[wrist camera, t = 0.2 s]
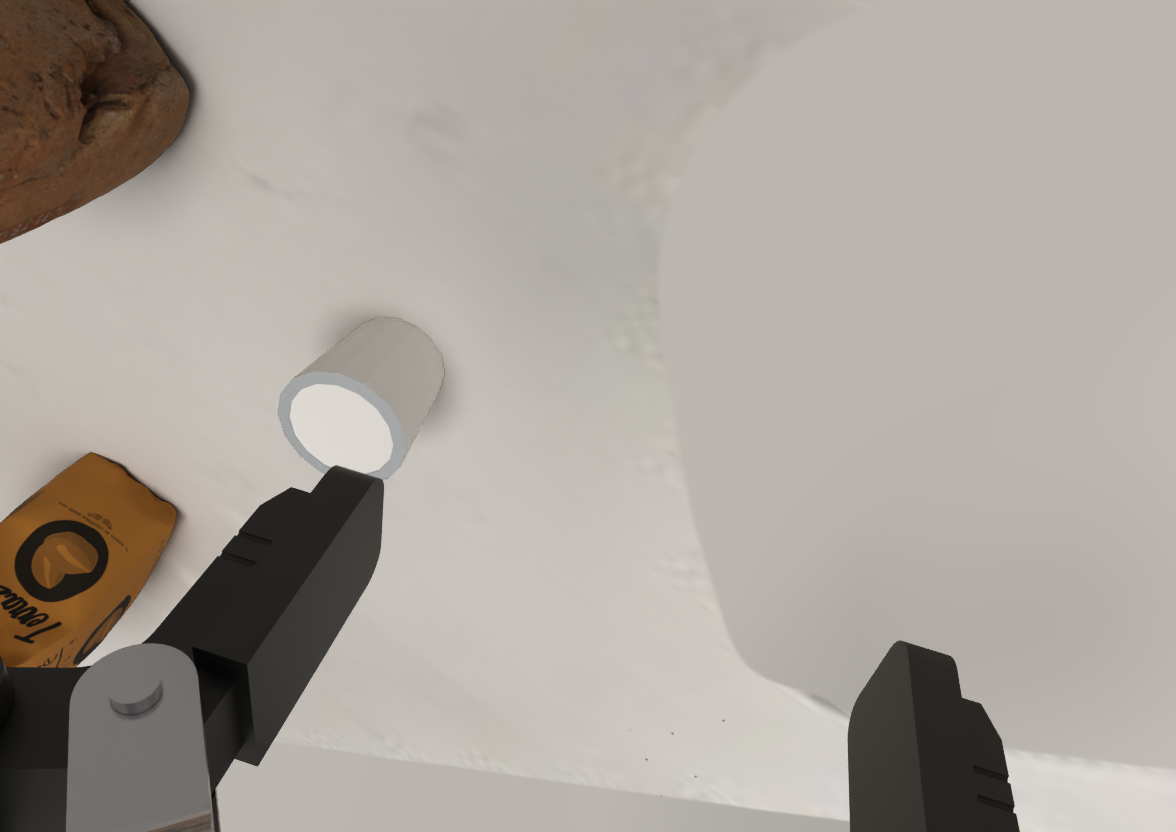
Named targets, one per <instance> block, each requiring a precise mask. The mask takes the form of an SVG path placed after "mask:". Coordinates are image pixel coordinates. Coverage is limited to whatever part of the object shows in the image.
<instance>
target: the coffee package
mask: <svg viewBox="0 0 1176 832" xmlns="http://www.w3.org/2000/svg"><path fill="white" fill-rule="evenodd" d="M175 518H176V511H175V509H174V507H173V506H172V505H171V504H169V503H168V502H164V501H161V500H160V499H158V498H157V497H155V496H154V495H153V494H152V493H151V491H150V490H149V489H148V488H147V487H146V486H144V485H142V484H140V483H138V482H137V481H135V480H133V479H132V478H130V477H129V476H128V475H127V473H126V471H124V470H123V469H122V468H121V467H120V466H119V465H117V464H116V463H111V462H110V461H108V460H106V459H105V458H103V457H101V456H99V455H97V454H94V453H89V454H87V455H85V456H84V457H82V458H81V459H79V460H78V461H77V462H76V463H74V464H73V465H71V466H70V467H68V468H67V469H65V470H64V471H63V472H61V473H60V474H59V475H58V476H56V477H55V478H54V479H53V480H51V481H50V482H49V483H48V484H47V485H45V486H44V487H42V488H41V489H40V490H38V491H37V492H36V493H34V494H33V495H32V496H31V497H29V498H28V499H27V500H26V501H24V502H23V503H22V504H21V505H20V506H19V507H17V508H16V509H15V510H14V511H13V512H11V513H10V515H8V516H7V517H6V518H5V519H4V520H3V521H2V522H1V523H0V656H1V658H2V659H3V662H4V664H5V667H51V668H74V667H77V666H78V665H79V664H80V663H81V662H82V661H83V660H84V659H85V658H86V657H87V656H88V655H89V654H90V653H91V652H92V651H93V650H94V649H95V648H96V647H97V646H98V645H99V644H100V643H101V642H102V641H103V640H104V638H105V637H106V636H107V634H108V633H109V632H110V630H111V629H112V628H113V627H114V626H115V624H116V623H117V622H118V621H119V620H120V618H121V617H122V616H123V615H124V613H125V612H126V611H127V610H128V608H129V607H130V606H131V604H132V603H133V602H134V600H135V599H136V598H137V596H138V595H139V593H140V592H141V590H142V588H143V587H144V585H145V583H146V582H147V580H148V578H149V576H150V574H151V572H152V570H153V569H154V567H155V565H156V563H157V561H158V559H159V557H160V555H161V553H162V551H163V550H164V548H165V546H166V544H167V542H168V539H169V537H170V535H171V533H172V531H173V528H174V524H175Z"/></svg>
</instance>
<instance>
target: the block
mask: <svg viewBox="0 0 1176 832" xmlns="http://www.w3.org/2000/svg"><path fill="white" fill-rule="evenodd" d="M188 106H189V91H188V87H187V86H186V84H185V82H184V80H183V78H182V77H181V75H180V74H179V72H178V71H177V70H176V69H175V68H174V67H173V66H172V65H171V64H170V62H169V59H168V57H167V56H166V54H165V53H164V51H163V50H162V48H161V47H160V45H159V44H158V42H157V41H156V39H155V37H154V35H153V34H152V32H151V31H150V29H149V28H148V27H147V26H146V25H145V24H144V23H143V21H142V20H141V19H140V18H139V17H138V16H137V15H136V14H135V13H134V12H133V11H132V10H131V9H130V8H129V7H128V6H127V5H126V4H125V3H124V2H123V1H122V0H0V244H1V243H3V242H6V241H8V240H11V239H13V238H15V237H18V236H20V235H22V234H24V233H27V232H29V231H31V230H33V229H36V228H38V227H40V226H42V225H44V224H46V223H48V222H49V221H51V220H53V219H55V218H58V217H60V216H63V215H65V214H67V213H69V212H71V211H73V210H75V209H78V208H80V207H82V206H84V205H85V204H87V203H89V202H91V201H92V200H94V199H96V198H98V197H100V196H102V195H104V194H106V193H108V192H110V191H111V190H113V189H115V188H116V187H118V186H120V185H121V184H123V183H125V182H126V181H128V180H130V179H131V178H133V177H135V176H136V175H137V174H139V173H140V172H141V171H143V170H144V169H146V168H147V167H148V166H150V165H151V164H152V163H153V162H154V161H155V160H156V159H157V158H158V157H159V156H160V155H161V154H162V153H163V152H164V151H165V150H166V149H167V148H168V147H169V146H170V145H171V144H172V142H173V141H174V140H175V139H176V137H177V135H178V133H179V131H180V130H181V128H182V126H183V124H184V122H185V116H186V111H187V109H188Z"/></svg>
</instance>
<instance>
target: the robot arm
mask: <svg viewBox="0 0 1176 832" xmlns="http://www.w3.org/2000/svg"><path fill="white" fill-rule="evenodd" d="M383 497H384V483H383V480H382V479H380V478H377V477H374V476H370V475H367V474H364V473H361V472H357V471H354V470H351V469H348V468H344V467H341V466H338V465H335V466H333V467H331V468H330V469H329V470H328V471H327V473H326V474H325V475H324V476H323V478H322V479H321V480H320V482H319V483H318V484H317V485H316V487H315V488H314V489H313V491H312V492H311V493H308V492H305V491H302V490H299V489H296V488H292V487H291V488H289V489H287V490H286V491H284V492H282V493H280V494H279V495H277V496H275V497H274V498H272V499H270V500H268V501H267V502H265V503H263V504H262V505H260V506H259V507H258V509H257V510H256V511H255V512H254V513H253V515H252V516H251V517H250V518H249V519H248V521H247V522H246V523H245V524H244V525H243V526H242V528H241V529H240V530H239V534H238V535H237V536H236V535H235V536H234V537H233V538H232V540H231V541H230V542H229V543H228V544H227V546H226V547H225V548H224V549H223V550H222V554H221V556H220V557H219V556H217V558H216V559H215V560H214V561H213V562H212V564H211V565H210V566H209V567H208V568H207V570H206V571H205V572H204V573H203V574H202V576H201V577H200V578H199V579H198V580H197V581H196V583H195V584H194V585H193V586H192V587H191V589H190V590H189V591H188V592H187V593H186V595H185V596H184V597H183V598H182V599H181V601H180V602H179V603H178V604H177V605H176V607H175V608H174V609H173V610H172V611H171V613H170V614H169V615H168V616H167V617H166V619H165V620H164V621H163V622H162V623H161V625H160V626H159V627H158V628H157V629H156V631H155V632H154V633H153V634H152V635H151V636H150V637H149V638H148V639H147V640H145V641H144V642H143V643H142V644H138V645H133V646H129V647H125V648H122V649H119V650H117V651H114V652H112V653H110V654H108V655H107V656H105V657H103V658H102V659H100V660H99V661H97V662H96V663H94V664H93V665H92V666H86V667H74V668H51V667H5V664H4V662H3V659H2V658H1V656H0V832H221V828H220V819H219V809H218V799H217V790H216V787H217V785H218V784H219V782H220V781H221V779H222V777H223V776H224V774H225V773H226V771H227V770H228V768H229V766H230V765H231V763H232V762H233V760H234V759H237V760H240V761H243V762H246V763H249V764H252V765H255V766H258V765H259V764H260V762H261V760H262V758H263V757H264V755H265V753H266V752H267V750H268V749H269V747H270V745H271V743H272V742H273V740H274V739H275V737H276V736H277V734H278V732H279V731H280V729H281V727H282V726H283V724H284V722H285V721H286V719H287V717H288V716H289V714H290V712H291V711H292V709H293V707H294V706H295V704H296V702H297V701H298V699H299V697H300V696H301V694H302V693H303V691H304V689H305V688H306V686H307V684H308V683H309V681H310V679H311V678H312V676H313V674H314V673H315V671H316V669H317V668H318V666H319V664H320V663H321V661H322V659H323V658H324V656H325V655H326V653H327V651H328V650H329V648H330V646H331V645H332V643H333V641H334V640H335V638H336V636H337V635H338V633H339V631H340V630H341V628H342V626H343V625H344V623H345V621H346V620H347V618H348V616H349V615H350V613H351V612H352V610H353V608H354V607H355V605H356V603H357V602H358V600H359V598H360V597H361V595H362V593H363V592H364V590H365V588H366V587H367V585H368V583H369V581H370V579H371V577H372V575H373V573H374V570H375V567H376V565H377V561H378V558H379V554H380V549H381V535H382V516H383ZM848 769H849V805H850V832H1020V831H1019V826H1018V821H1017V816H1016V814H1015V813H1013V809H1014V807H1015V806H1014V801H1013V795H1012V790H1011V785H1010V783H1008V782H1007V779H1008V777H1009V775H1008V770H1007V765H1006V760H1005V755H1004V750H1003V745H1002V740H1001V738H1000V737H999V735H998V733H997V731H996V729H995V728H994V726H993V724H992V722H991V721H990V719H989V717H988V715H987V714H986V712H985V710H984V708H983V707H982V705H981V704H980V703H977V702H974V701H970V700H967V699H964V698H962V696H961V690H960V684H959V678H958V672H957V666H956V663H955V661H954V659H953V658H952V657H951V656H949V655H946V654H943V653H939V652H936V651H933V650H930V649H926V648H923V647H920V646H917V645H913V644H910V643H907V642H904V641H897V642H896V643H894V644H893V646H892V647H891V648H890V650H889V651H888V653H887V654H886V656H885V658H884V659H883V660H882V662H881V663H880V665H879V667H878V668H877V670H876V671H875V673H874V674H873V675H872V677H871V678H870V680H869V681H868V683H867V684H866V686H865V688H864V689H863V690H862V692H861V693H860V695H859V697H858V698H857V700H856V703H855V705H854V707H853V711H852V713H851V717H850V722H849V729H848Z"/></svg>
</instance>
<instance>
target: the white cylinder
mask: <svg viewBox="0 0 1176 832" xmlns="http://www.w3.org/2000/svg"><path fill="white" fill-rule="evenodd" d="M444 373H445V372H444V366H443V361H442V356H441V354H440V352H439V351H438V349H437V348H436V346H435V344H434V343H433V341H432V339H430V338H429V337H428V336H427V335H426V334H425V333H423V332H422V331H421V330H420V329H419V328H418V327H416V326H415V325H412V324H410V323H407V322H405V321H403V320H400V319H398V318H384V317H378V318H376V319H373V320H370V321H368V322H365V323H363V324H362V325H361V326H359V327H358V328H357V329H355V330H354V331H353V332H352V333H350V334H349V335H348V336H347V337H345V338H344V339H343V340H341V341H340V342H339V343H338V344H336V345H335V346H334V347H333V348H331V349H330V350H329V351H327V352H326V353H325V354H324V355H322V356H321V357H320V358H319V359H317V360H316V361H315V362H313V363H312V364H311V365H310V366H308V367H307V368H306V369H305V370H303V371H302V372H301V373H299V374H298V375H297V376H296V377H294V378H293V379H292V380H291V381H290V383H289V384H288V385H287V386H286V388H285V389H284V390H283V391H282V393H281V394H280V401H279V409H278V416H279V419H280V422H281V425H282V428H283V431H284V435H285V437H286V438H287V439H288V441H289V442H290V443H291V445H292V446H293V447H294V449H295V450H296V451H297V453H298V454H299V455H300V456H301V457H302V458H303V459H305V460H306V461H307V462H309V463H310V464H311V465H312V466H314V467H315V468H316V469H318V470H319V471H320V472H322V473H324V474H326V473H327V471H328V470H329V469H330V468H331V467H333V466H335V465H338V466H341V467H344V468H348V469H351V470H354V471H357V472H361V473H364V474H367V475H370V476H374V477H377V478H380V479H382V480H385V479H388V478H389V477H390V476H391V475H392V474H393V473H394V472H395V471H396V470H397V469H398V468H399V467H400V466H401V465H402V463H403V461H404V459H405V457H406V455H407V453H408V451H409V449H410V447H411V445H412V443H413V441H414V439H415V437H416V435H417V433H418V431H419V429H420V427H421V426H422V424H423V422H424V420H425V418H426V416H427V414H428V412H429V410H430V408H431V406H432V404H433V402H434V400H435V398H436V396H437V394H438V392H439V390H440V388H441V384H442V381H443V377H444Z"/></svg>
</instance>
